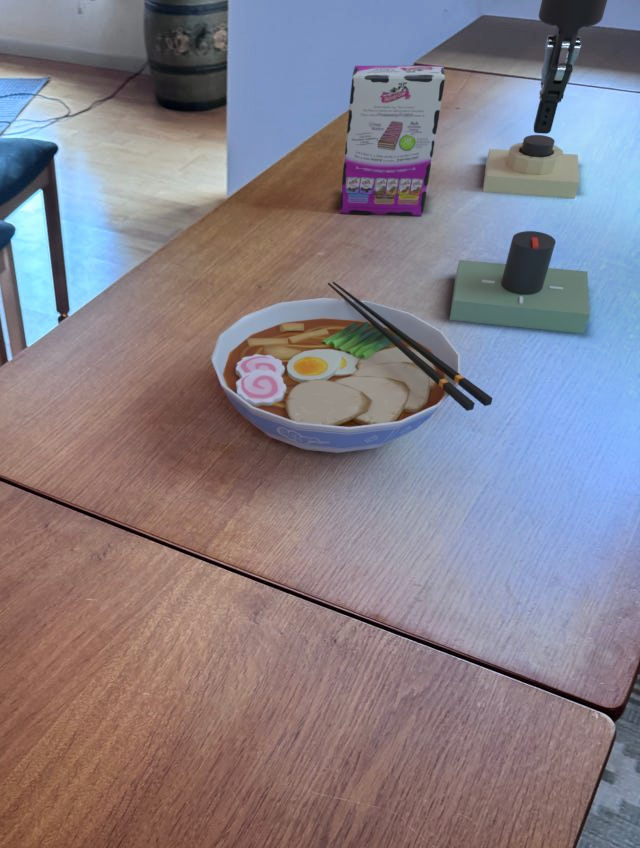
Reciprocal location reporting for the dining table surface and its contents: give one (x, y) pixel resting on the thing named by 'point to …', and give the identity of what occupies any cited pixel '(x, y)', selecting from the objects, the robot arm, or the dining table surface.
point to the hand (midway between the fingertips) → (541, 131)
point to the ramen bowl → (338, 372)
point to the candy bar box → (390, 139)
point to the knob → (528, 262)
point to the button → (537, 146)
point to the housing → (531, 173)
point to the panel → (520, 299)
